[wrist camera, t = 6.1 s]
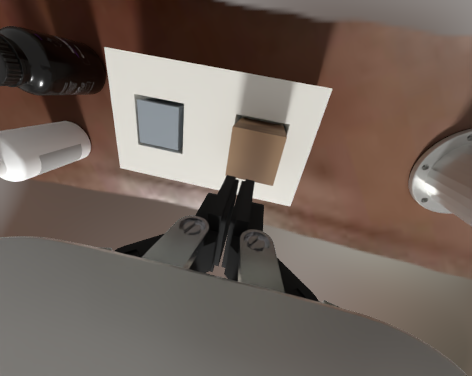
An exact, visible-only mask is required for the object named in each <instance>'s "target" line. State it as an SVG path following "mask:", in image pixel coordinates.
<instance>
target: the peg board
mask: <svg viewBox="0 0 472 376" xmlns="http://www.w3.org/2000/svg"><path fill="white" fill-rule="evenodd" d="M104 49H105V57H106V64H107V72H108V79H109V87H110V94H111V102H112V109H113V117H114V124H115V132H116V139H117V146H118V154H119V161H120V168H123V169H127V170H132V171H136V172H140V173H145V174H149V175H154V176H158V177H163V178H167V179H171V180H176V181H180V182H185V183H189V184H193V185H198V186H202V187H207V188H211V189H216V190H220V188H221V186H222V184H223V182H224V180H225V178H226V176H225V174H226V167H227V160H228V154H229V147H230V141H231V134H232V127H233V126H234V125H235V124H236V123H237V122H238V121H239V120H240V119H241V118H242V117H244V118H249V119H254V120H259V121H264V122H269V123H274V124H279V125H283V126H284V130H285V133H286V136H287V139H286V143H285V146H284V149H283V153H282V156H281V160H280V163H279V167H278V170H277V174H276V177H275V181H274V184H273V186H270V185H266V184H261V183H257V182H255V184H254V191H253V197H252V198H255V199H260V200H264V201H269V202H273V203H278V204H282V205H286V206H291V203H292V200H293V197H294V195H295V192H296V189H297V186H298V183H299V181H300V178H301V175H302V172H303V170H304V167H305V164H306V161H307V158H308V156H309V153H310V150H311V147H312V144H313V142H314V139H315V136H316V133H317V131H318V128H319V125H320V122H321V119H322V117H323V114H324V111H325V108H326V106H327V103H328V100H329V97H330V94H331V92H332V89H331V88H326V87H320V86H315V85H309V84H304V83H298V82H293V81H287V80H282V79H276V78H271V77H265V76H260V75H254V74H249V73H243V72H238V71H233V70H227V69H222V68H216V67H211V66H205V65H200V64H194V63H189V62H183V61H178V60H172V59H167V58H161V57H156V56H150V55H145V54H140V53H134V52H129V51H123V50H118V49H112V48H107V47H104ZM148 98H158V99H163V100H168V101H173V102H178V103H183V104H184V125H183V147H182V148H181V149H179V150H174V149H169V148H165V147H160V146H155V145H151V144H146V143H141V142H140V134H139V121H138V108H137V99H148ZM236 179H237V180H239V183H238V189H237V194H238V192H239V189H240V185H241V182H242V181H246V180H243V179H239V178H236Z"/></svg>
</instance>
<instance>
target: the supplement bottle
mask: <svg viewBox="0 0 472 376" xmlns="http://www.w3.org/2000/svg"><path fill="white" fill-rule="evenodd" d="M104 84H105V70H104V67H103V64H102V62H101V60H100V58H99V57H98V55H97V54H96V53H95V52H94V51H93V50H92V49H91V48H90V47H88V46H87V45H85V44H83V43H80V42H77V41H73V40H69V39H65V38H61V37H57V36H53V35H49V34H45V33H41V32H37V31H33V30H29V29H25V28H21V27H16V26H7V27H4V28H1V29H0V86H9V87H18V88H20V89H22V90H23V91H25V92H28V93H30V94H33V95H43V96H44V95H88V94H96V93H98V92H99V91H101V89H102V88H103V86H104Z"/></svg>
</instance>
